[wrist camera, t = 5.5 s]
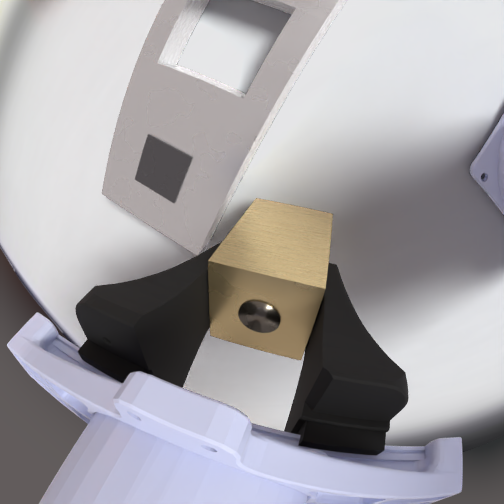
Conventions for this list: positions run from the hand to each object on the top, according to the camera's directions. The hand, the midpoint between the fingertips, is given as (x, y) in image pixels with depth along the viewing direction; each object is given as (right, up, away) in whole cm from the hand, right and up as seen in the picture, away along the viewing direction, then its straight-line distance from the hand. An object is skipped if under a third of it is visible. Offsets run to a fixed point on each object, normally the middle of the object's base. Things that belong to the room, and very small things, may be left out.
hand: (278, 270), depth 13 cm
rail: (-2, +12, -1) cm, 12 cm away
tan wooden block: (+1, +1, +2) cm, 3 cm away
